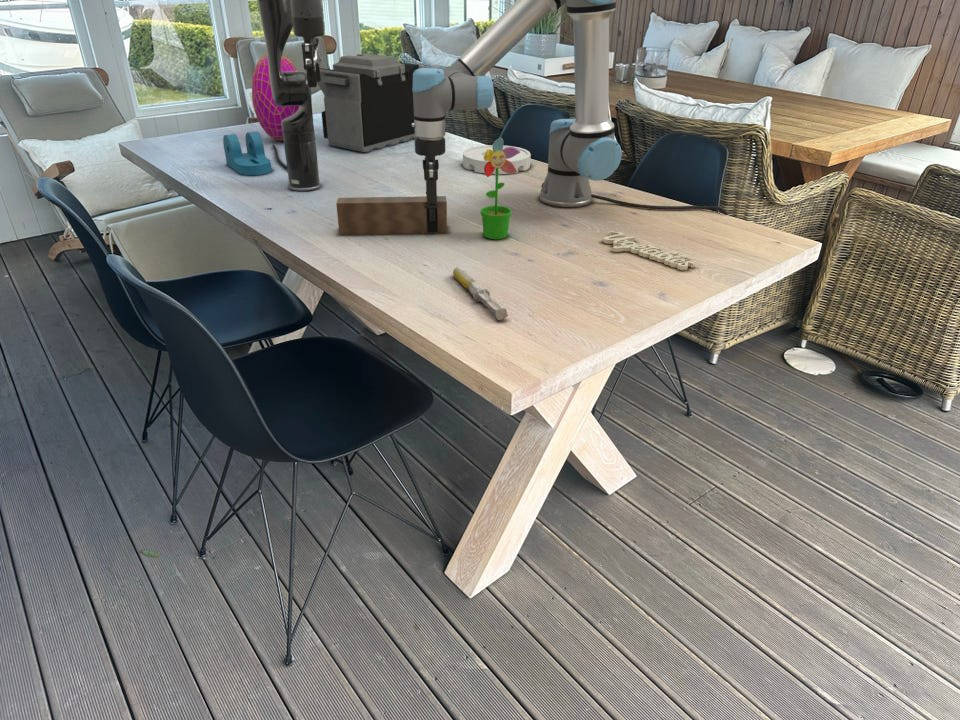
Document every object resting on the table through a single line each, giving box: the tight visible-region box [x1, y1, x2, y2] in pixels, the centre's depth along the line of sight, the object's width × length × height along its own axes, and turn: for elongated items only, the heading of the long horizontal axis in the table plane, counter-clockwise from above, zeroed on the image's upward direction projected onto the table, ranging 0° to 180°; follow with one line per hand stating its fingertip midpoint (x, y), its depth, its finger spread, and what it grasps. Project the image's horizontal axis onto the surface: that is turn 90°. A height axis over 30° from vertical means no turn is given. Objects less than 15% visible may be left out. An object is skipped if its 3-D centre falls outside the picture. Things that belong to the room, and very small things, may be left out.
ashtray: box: [462, 144, 532, 175], centre depth 235 cm, size 23×23×4 cm
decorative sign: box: [603, 230, 695, 271], centre depth 167 cm, size 26×1×10 cm
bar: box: [336, 195, 448, 236], centre depth 177 cm, size 28×5×8 cm, turn 95°
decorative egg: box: [251, 55, 299, 142], centre depth 257 cm, size 19×19×30 cm
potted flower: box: [480, 137, 520, 240], centre depth 170 cm, size 9×8×25 cm
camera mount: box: [222, 131, 272, 176], centre depth 226 cm, size 18×10×10 cm, turn 35°
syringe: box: [452, 266, 509, 321], centre depth 145 cm, size 25×4×3 cm, turn 21°
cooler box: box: [317, 53, 421, 153], centre depth 257 cm, size 37×22×30 cm, turn 144°
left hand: (314, 84), depth 179 cm, fingers open, 8 cm apart
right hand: (432, 228), depth 180 cm, fingers closed on bar, 5 cm apart
